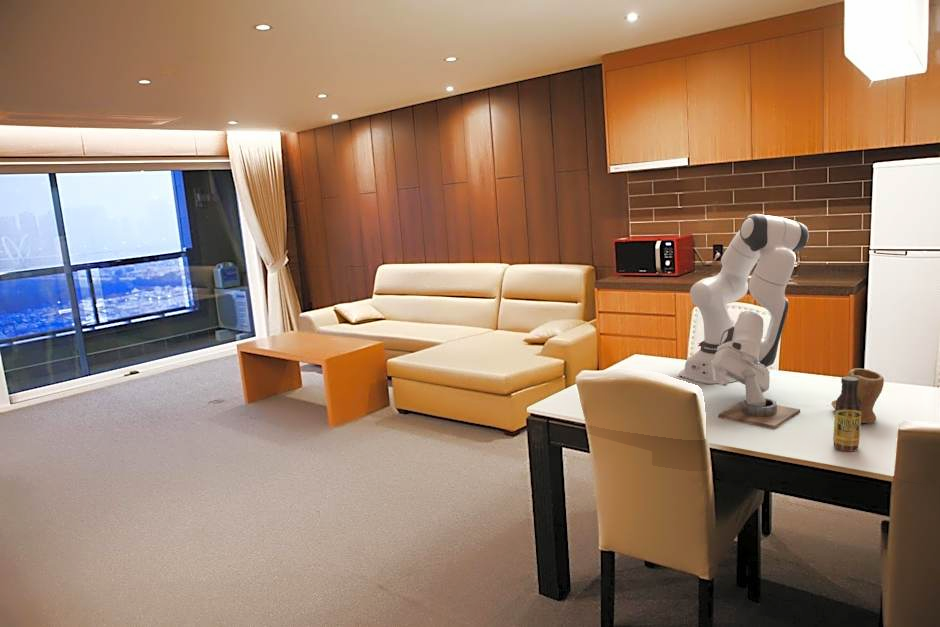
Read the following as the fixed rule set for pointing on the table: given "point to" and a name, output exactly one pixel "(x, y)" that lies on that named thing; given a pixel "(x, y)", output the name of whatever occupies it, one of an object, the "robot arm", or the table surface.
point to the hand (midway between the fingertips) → (737, 392)
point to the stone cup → (866, 392)
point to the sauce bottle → (847, 416)
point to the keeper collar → (760, 409)
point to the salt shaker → (753, 389)
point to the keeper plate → (769, 422)
